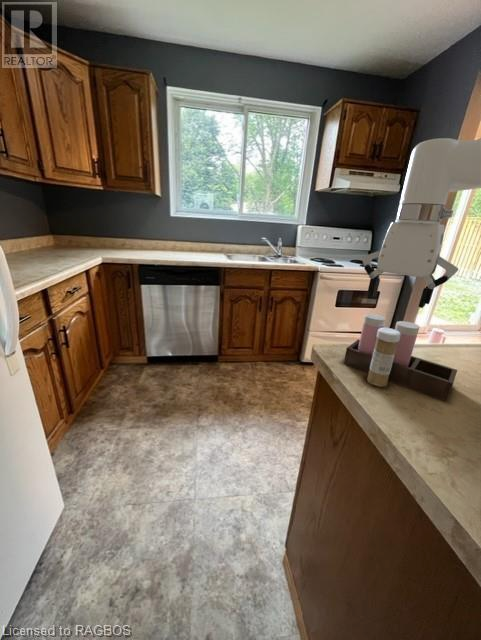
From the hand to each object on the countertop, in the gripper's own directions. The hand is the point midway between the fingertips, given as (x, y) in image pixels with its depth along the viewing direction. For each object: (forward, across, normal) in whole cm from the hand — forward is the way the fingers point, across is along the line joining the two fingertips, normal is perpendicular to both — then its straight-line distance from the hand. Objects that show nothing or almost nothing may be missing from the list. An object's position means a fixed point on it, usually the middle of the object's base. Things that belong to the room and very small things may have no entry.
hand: (395, 301), depth 58 cm
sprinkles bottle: (+20, 0, 0) cm, 21 cm away
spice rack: (+20, -2, -8) cm, 22 cm away
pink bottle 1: (+20, +5, -8) cm, 22 cm away
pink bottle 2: (+20, -2, -8) cm, 21 cm away
